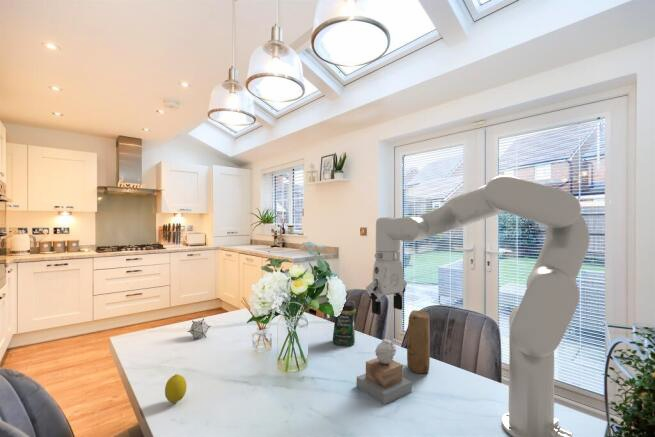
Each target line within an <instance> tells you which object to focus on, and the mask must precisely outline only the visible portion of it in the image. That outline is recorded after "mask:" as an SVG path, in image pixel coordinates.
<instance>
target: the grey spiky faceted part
mask: <svg viewBox="0 0 655 437" xmlns="http://www.w3.org/2000/svg"><path fill="white" fill-rule="evenodd" d="M191 322H192V324H191V327H190V329H189V330H188V331H187V333H190V334H191V336H192V337H193V340H194V341H196V339H199V338H203V337H204V338H207V336H206V335H207V333H208V330H209V329H210V328H211V327H212V326H211V325H209V324H207V322H206V321H205V317H204V318H202V319H201V320H196V321H194V319H193V320H191Z"/></svg>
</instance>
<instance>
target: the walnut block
mask: <svg viewBox="0 0 655 437" xmlns="http://www.w3.org/2000/svg"><path fill="white" fill-rule="evenodd" d="M403 366H404V365H403V364H401V363H400V362H397V361H395V360H394V359H392V361H391V362H390V363H388V364H383V363H381V362H380V361H379V360H378V358H377V357H376V358H373V359H370V360H367V361H365V374H366V378H367V379H369V380H370V381H372V382H374V383H375V384H377V385H379V386H380V387H382V388H384V389H385V388H387V387H390V386H392V385H394V384H397V383H399V382H401V381H402V377H403Z"/></svg>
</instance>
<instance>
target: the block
mask: <svg viewBox="0 0 655 437" xmlns="http://www.w3.org/2000/svg"><path fill="white" fill-rule="evenodd" d="M407 322H408V323H407V337H406V338H407V339H406V342H407V343H406V362H407V363H406V367H407V369H408V370H409V371H411V372H412V373H416V374H425V373H426V374H427V373H428V372H429V370H430V361H431V360H430V356H431V354H430V353H431V326H430V325H431V324H430V313H429V312H428V311H426V310H425V311H424V310H414V309H413V310H411V312H410V313H409V316H408V321H407Z"/></svg>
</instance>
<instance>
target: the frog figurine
mask: <svg viewBox="0 0 655 437" xmlns="http://www.w3.org/2000/svg"><path fill="white" fill-rule="evenodd" d="M396 351H397V347H396V344H395V343H394V342H393V341H392V340H390V339H385V338H383V339H382V341H381V342H379V343H378V344H377V346H376V348H375V356H376V358H378V360H379V361H380V362H381V363H383V364H388V363H390V362H391V361H392V360H394V356H395V355H396Z"/></svg>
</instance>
